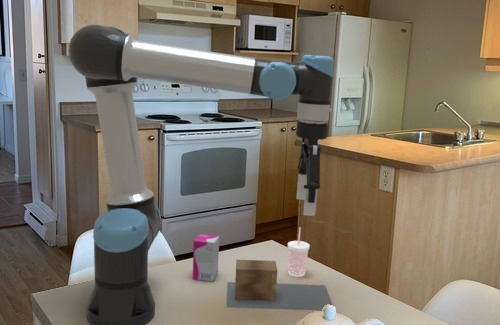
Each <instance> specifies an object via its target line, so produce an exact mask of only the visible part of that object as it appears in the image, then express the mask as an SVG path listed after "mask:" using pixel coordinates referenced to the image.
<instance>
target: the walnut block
mask: <svg viewBox="0 0 500 325" xmlns="http://www.w3.org/2000/svg"><path fill="white" fill-rule="evenodd" d="M277 280H278V266H277V261H276V260H258V259H257V260H255V259H254V260H253V259H235V280H234V282H235V300H262V301H276V285H277V284H278V283H277V282H278V281H277Z"/></svg>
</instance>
